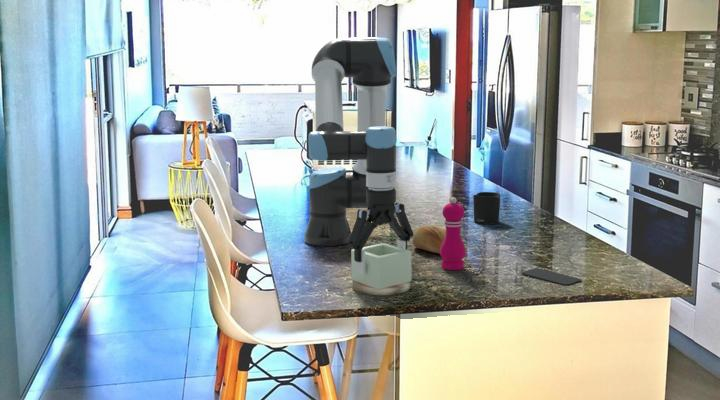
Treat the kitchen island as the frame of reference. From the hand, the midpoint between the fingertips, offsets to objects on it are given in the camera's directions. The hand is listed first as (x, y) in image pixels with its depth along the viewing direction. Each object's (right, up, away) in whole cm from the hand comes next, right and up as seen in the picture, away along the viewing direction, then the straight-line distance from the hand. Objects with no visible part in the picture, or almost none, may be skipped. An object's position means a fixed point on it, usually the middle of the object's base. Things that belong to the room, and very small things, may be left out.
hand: (381, 269), depth 204 cm
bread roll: (+16, +2, +36) cm, 40 cm away
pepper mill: (+21, -1, +18) cm, 27 cm away
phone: (+46, -3, +8) cm, 46 cm away
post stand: (0, -5, +1) cm, 5 cm away
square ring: (0, -3, +1) cm, 3 cm away
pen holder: (+39, +10, +75) cm, 86 cm away
